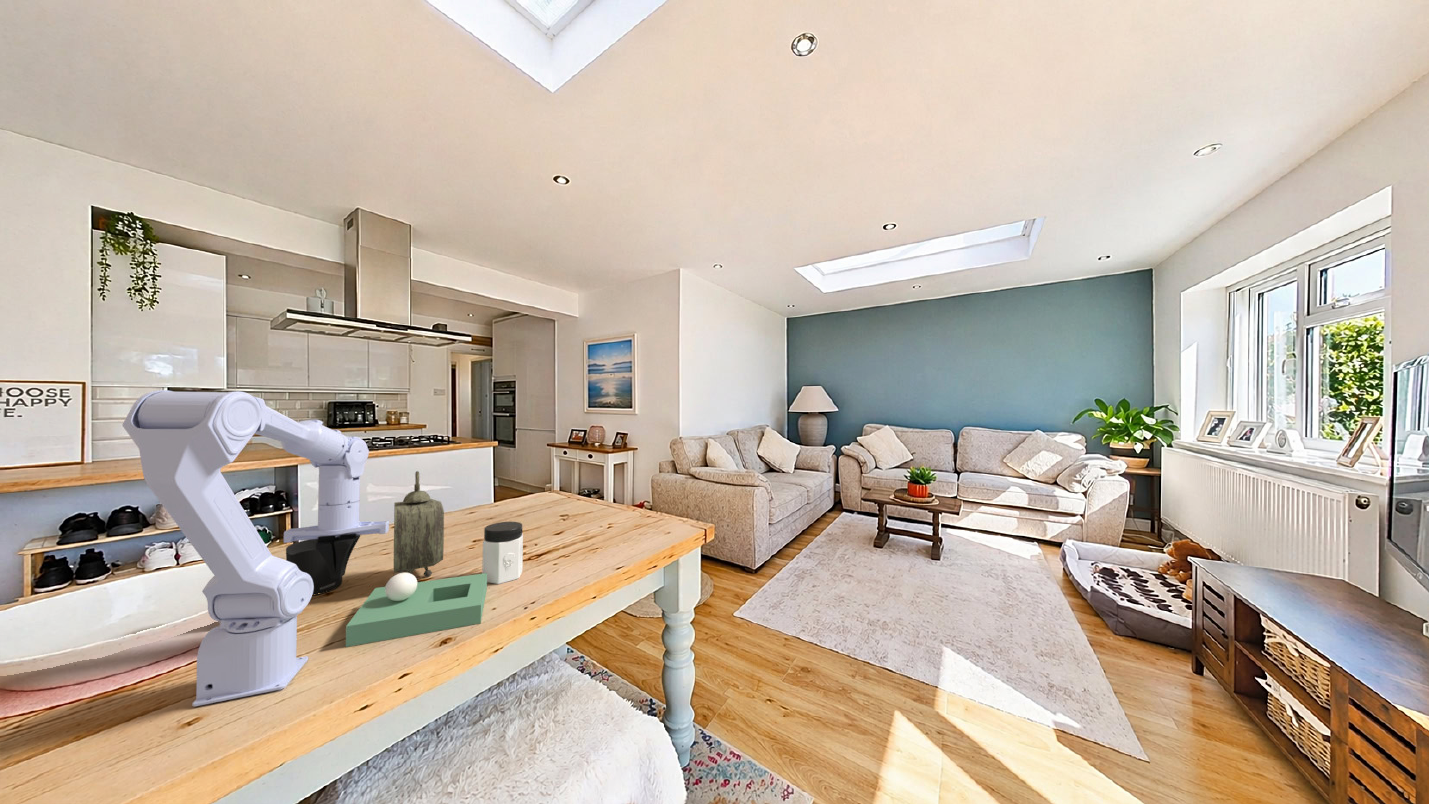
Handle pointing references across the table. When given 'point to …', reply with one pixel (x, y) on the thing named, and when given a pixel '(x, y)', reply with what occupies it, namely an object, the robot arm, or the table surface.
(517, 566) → the jar
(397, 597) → the white egg
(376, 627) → the putting box
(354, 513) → the robot arm
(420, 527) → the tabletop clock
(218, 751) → the table surface
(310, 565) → the pen holder
